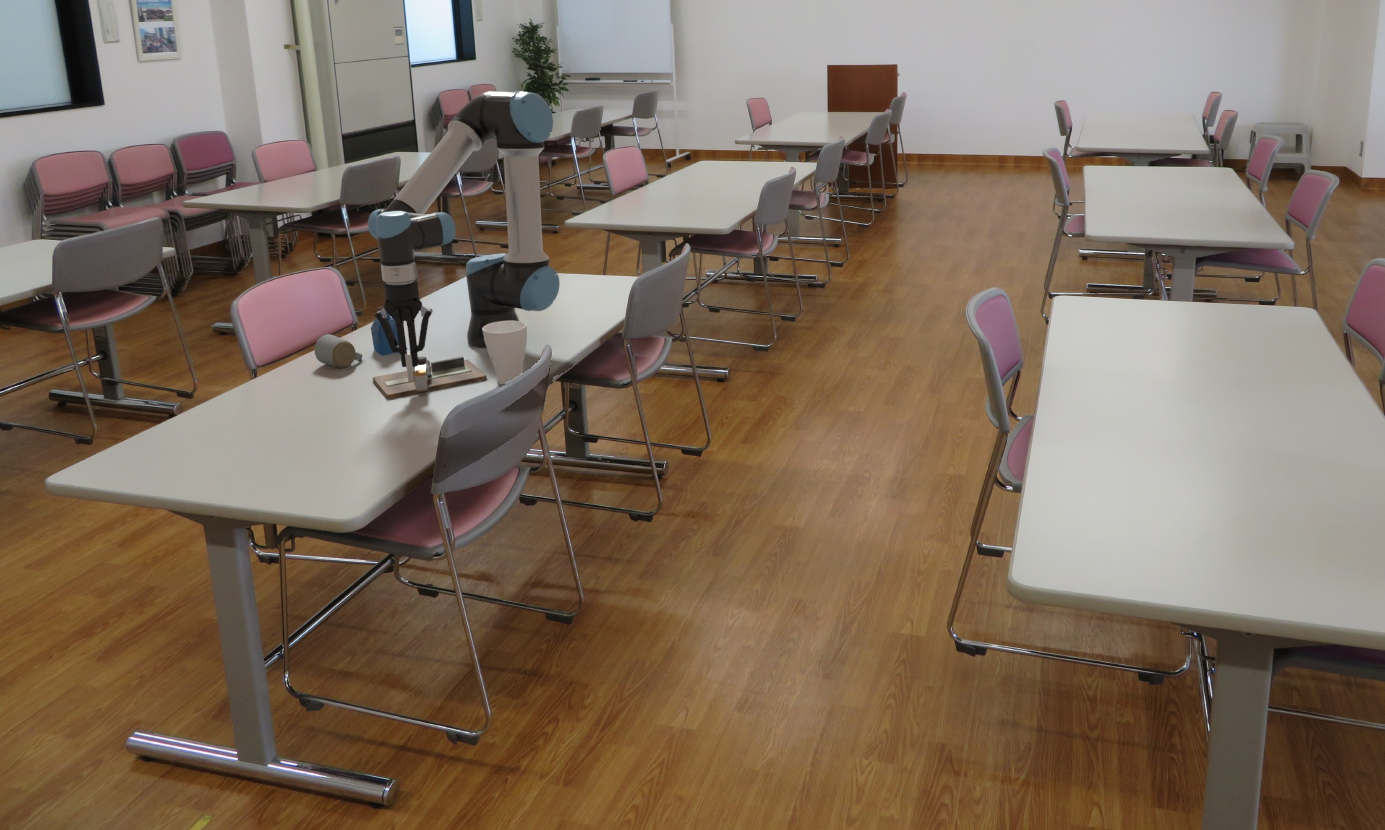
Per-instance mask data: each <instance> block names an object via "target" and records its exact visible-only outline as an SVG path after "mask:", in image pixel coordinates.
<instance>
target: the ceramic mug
mask: <svg viewBox="0 0 1385 830" xmlns="http://www.w3.org/2000/svg"><path fill="white" fill-rule="evenodd" d="M313 351H314V355H315V359H316V360H317V361H318V362H319V363H322V364H324V365H327V366H332V367H335V368H340V369H343V368H347V367H350V365H352V364H353V362H354V361H361V360H362V359H363V354H362V353H360V352H356V351H357V350H356V348H355V346H354V345H353V343H351V342H350V341H348V340H346V339H345V338H344V339H343V338H341V337H338V336H336V335H333V334H329V333H327V334H323V335H322V336H320V337H319V338H318V339H317V340H316V343H315V344H314V350H313Z"/></svg>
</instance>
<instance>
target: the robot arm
mask: <svg viewBox="0 0 1385 830" xmlns="http://www.w3.org/2000/svg"><path fill="white" fill-rule="evenodd" d="M553 127H554V117H553V112H552V109H551V107H550V106H549V103H548V102H547V101H546V100H545V99H544V98H543V96H542V95H540V94H537V93H535V92H529V91H523V90H520V91H500V90H499V91H498V90H491V91H485V92H482V93H481V94H478V95H477V96H475V97H474V98H472V99H471V100H470V101H469V102H468V103H466V104H465V105H464V106H463V107H461V109H460V110H458V112H457V113H456V114H455V115H454V116H453V118H452V119H451V120H450V121H449V122H448V125H447V132H446V133H445V134H444V136H443V137H442V138H441V140H440V141H439V142H438V143H437V144H436V146H435V147H434V148H433V150H432V151H431V152H430V153H429V154H428V156H427V157H426V158H425V159H424V161H423V162H422V163H421V164H420V166H419V167H418V168H417V169H416V171H415V172H414V173H413V174H412V176H411V177H410V179H409V180H408V181H407V182H406V183H405V184H404V186H403V187H402V188H401V190H400V191H399V192H398V193H397V195H396V196H395V197H394V198H393V200H392V201H391V202H390V203H389V205H388V206H387V207H386V208H379V209H375V210H374V211H372V212H371V213H370V215H369V217H368V220H367V229H368V232H369V233H370V235H371V236H372V237H373V238H374V239H376V240H377V248H378V253H379V260H380V268H381V277H382V281H383V282H384V283H383V291H384V292H383V293H384V305H383V306H384V308H383V309H382V310H380V311H378V310H377V311H376V313H375V314H374V317H375V319H378V320H379V322H380V323H381V325H382V327H383V330H384V333H385V335H386V338H387V340H388V343H389V345H390V348H391V350H392V352H398V354H399V355H400V361H401V362H400V363H401V367H402V368H406V371H407V376H408V381H414V380H415V379H414V371H415V367H416V366H417V365H418V363H419V362H418V357H419V356H418V353H419V352H423V350H424V349H425V347H426V340H427V333H428V327H429V326H428V325H429V319H430V318H431V315H432V313H433V309H432V308H427V307H425V306H423V302H422V301H421V299H420V293H419V285H418V281H417V280H416V279H417V278H418V277H417V268H416V259H415V258H416V257H415V252H418V251H422V250H428V249H432V248H437V247H443V246H444V245H447V244H450V243H451V242H453V240H454V239H455V236H456V225H455V222H454V219H453V218H452V217H451V215H449V214H448V213H447V212H444V211H441V212H432V213H426V212H427V211H428V209H429V208H430V207H431V205H432V204H433V203H434V202H435V200H436V199H437V198H438V196H439V195H440V194H441V193H442V192H443V190H444V189H445V188H446V186H447V185H448V184H449V182H450V181H451V180H452V179H453V177H454V176H455V174H457V172H458V171H459V170H460V169H461V167H462V166H463V165H464V163H465V162H466V161H467V160H468V158H469V157H470V156H471V154H472V153H473V152H478V151H479V150H481V149H482V148H483V146H484V145H485V144H486V143H488V142H489V141H493V140H496V149H497V150H498V152H500V153H501V154H502V156H503V169H504V186H505V187H504V189H505V203H506V208H505V209H506V220H507V221H506V223H507V226H506V227H507V239H508V240H507V241H508V252H507V253H504V252H503V253H493V254H485V255H481V256H477V257H474V258H471V259H469V260H468V261H467V262H466V264H465V265H466V266H465V268H466V269H465V271H466V274H465V276H466V277H465V278H466V284H467V285H466V286H467V290H468V291H467V292H468V297H469V298H468V299H469V306H470V319H469V324H468V330H467V335H466V336H467V343H468V345H469V346H471V347H474V348H480V349H487V347H486V344H485V341H484V336H483V331H482V328H483V327H484V326H485V325H487V324H490V323H494V322H499V321H520V319H519V317H518V314H517V312H516V309H519V310H524V311H526V312H531V311H533V312H542V311H545V310H546V309H548V308H549V307H551V306H552V305H553V303H554V301H556V299H557V297H558V294H559V291H560V277H559V274H558V273H557V271H556V270H555V269H554V268H552V267H550V257H549V255H548V254H547V253H545V252H544V249H543V247H544V246H543V228H542V227H543V226H542V208H541V207H542V206H541V185H540V183H541V182H540V162H539V159H540V158H539V155H540V154H541V152H542V151H543V150H545V141H546V140H547V139H548V138H549V137H550V136H551V133H552V132H553V129H554V128H553ZM387 313H388V314H389V315H390V317H391V318H393V319H394V320H395V324H396V328H397V336H398V343H399V346H398V343H397V341H396V338H395V336H394V333H393V331H392V328H391V326H390V323H389V321H388V318H387V316H388V315H387ZM419 313H420V316H421V317H422V319H421V323H420V331H419V337H418V343H417V333H416V325H415V319H416V317H417V316H418V314H419ZM404 323H406V326H407V335H408V342H409V351H407V350H408V347H407V340H406V339H407V338H406V332H405V324H404Z"/></svg>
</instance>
